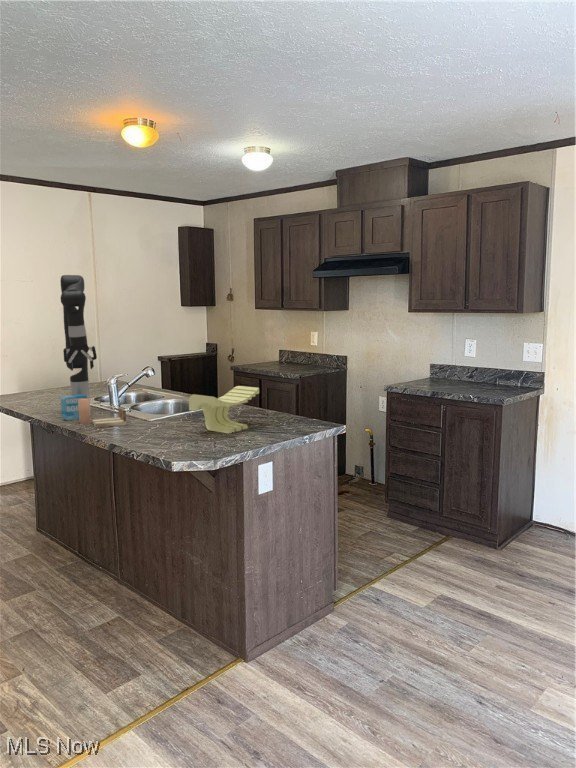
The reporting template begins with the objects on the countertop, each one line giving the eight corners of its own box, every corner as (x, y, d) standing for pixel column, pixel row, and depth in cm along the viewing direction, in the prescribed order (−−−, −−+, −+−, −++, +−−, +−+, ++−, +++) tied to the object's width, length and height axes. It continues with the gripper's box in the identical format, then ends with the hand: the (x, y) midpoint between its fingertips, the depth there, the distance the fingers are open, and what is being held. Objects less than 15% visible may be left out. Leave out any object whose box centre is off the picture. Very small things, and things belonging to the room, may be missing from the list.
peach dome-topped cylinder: (78, 422, 291) (77, 398, 290) (89, 421, 294) (88, 397, 292) (80, 424, 287) (78, 400, 285) (91, 423, 289) (89, 399, 287)
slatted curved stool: (234, 421, 289) (233, 385, 286) (259, 424, 279) (259, 387, 276) (190, 432, 265) (188, 393, 262) (215, 437, 255) (214, 396, 253)
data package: (65, 421, 295) (63, 397, 293) (62, 420, 298) (60, 396, 296) (88, 417, 303) (87, 394, 301) (84, 416, 306) (83, 393, 304)
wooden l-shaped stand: (92, 423, 288) (91, 409, 287) (121, 420, 294) (120, 406, 293) (96, 428, 277) (95, 413, 276) (126, 425, 283) (125, 410, 282)
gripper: (94, 332, 274) (98, 366, 278) (61, 334, 271) (66, 369, 275) (93, 335, 267) (97, 369, 271) (60, 337, 264) (64, 372, 268)
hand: (81, 369), depth 273 cm, fingers open, 8 cm apart
